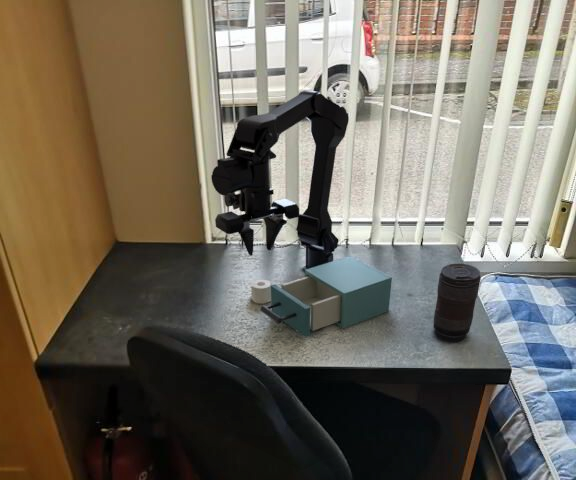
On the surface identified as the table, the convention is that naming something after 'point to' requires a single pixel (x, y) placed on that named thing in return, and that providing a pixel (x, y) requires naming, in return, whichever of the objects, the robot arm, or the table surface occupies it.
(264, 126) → the robot arm
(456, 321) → the camera lens
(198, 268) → the table surface
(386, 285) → the teal cabinet
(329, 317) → the drawer
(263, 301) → the label roll
